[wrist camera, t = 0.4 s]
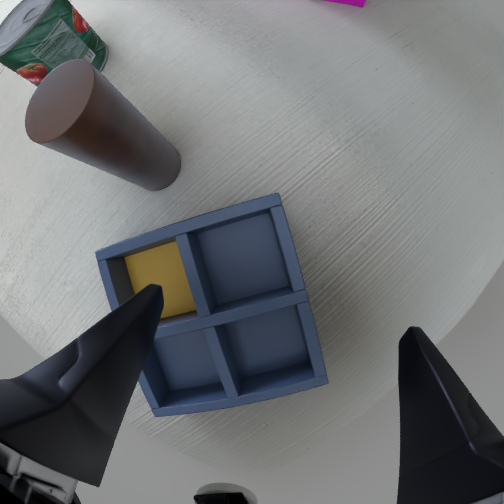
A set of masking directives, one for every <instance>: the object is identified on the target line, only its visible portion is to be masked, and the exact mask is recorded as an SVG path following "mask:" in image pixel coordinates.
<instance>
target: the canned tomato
mask: <svg viewBox="0 0 504 504" xmlns="http://www.w3.org/2000/svg"><path fill="white" fill-rule="evenodd" d="M107 56H108V48H107V46H106V44H105V43H104V42H103V41H102V40H101V39H100V37H99V36H98V35H97V34H96V33H95V31H94V30H93V29H92V28H91V27H90V26H89V24H88V23H87V22H86V21H85V19H84V18H83V17H82V16H81V15H80V14H79V13H78V11H77V10H76V9H75V8H74V6H73V5H71V3H70V2H69V1H68V0H22V1H21V2H20V3H19V4H18V5H17V6H16V7H15V8H14V9H13V10H12V11H11V12H10V13H9V14H8V16H7V17H6V18H5V19H4V21H3V22H2V23H1V25H0V63H1V64H3V65H5V66H6V67H8V68H10V69H11V70H12V71H14V72H16V73H17V74H19V75H21V76H22V77H23V78H25V79H27V80H28V81H30V82H31V83H32V84H35V85H36V86H37V87H38V85H39V84H40V83H41V82H42V80H43V79H44V78H45V77H46V76H47V75H48V74H49V73H50V72H51V71H52V70H54V69H55V68H56V67H58V66H59V65H61V64H63V63H65V62H67V61H70V60H74V59H83V60H86V61H88V62H90V63H91V64H92V65H93V66H94V67H95V68H96V69H97V70H98V71H99V72H101V71H102V69H103V67H104V65H105V63H106V60H107Z"/></svg>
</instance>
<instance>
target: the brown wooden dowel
mask: <svg viewBox="0 0 504 504" xmlns="http://www.w3.org/2000/svg"><path fill="white" fill-rule="evenodd" d="M25 127H26V132H27V134H28V136H29V138H30V139H31V140H32V141H34V142H36V143H38V144H41V145H43V146H45V147H48V148H50V149H53V150H55V151H58V152H60V153H62V154H65V155H67V156H70V157H72V158H75V159H77V160H79V161H82V162H84V163H86V164H89V165H91V166H94V167H96V168H98V169H101V170H103V171H106V172H108V173H110V174H113V175H115V176H117V177H120V178H122V179H124V180H127V181H129V182H131V183H134V184H136V185H138V186H141V187H143V188H145V189H148V190H161V189H163V188H166V187H167V186H169V185H170V184H171V183H172V182H173V181H174V180H175V179H176V177H177V175H178V173H179V170H180V165H181V160H180V156H179V153H178V151H177V150H176V149H175V148H174V147H173V146H172V145H171V144H170V143H169V142H168V141H167V139H166V138H165V137H164V136H163V135H162V134H161V133H160V132H159V131H158V130H157V129H156V128H155V127H154V126H153V125H152V124H151V123H150V122H149V121H148V120H147V119H146V118H145V117H144V116H143V115H142V114H141V113H140V112H139V111H138V110H137V109H136V108H135V107H134V106H133V105H132V104H131V103H130V102H129V101H128V100H127V99H126V98H125V97H124V96H123V95H122V94H121V93H120V92H119V91H118V90H117V89H116V88H115V87H114V86H113V85H112V84H111V83H110V82H109V81H108V80H107V79H106V78H105V77H104V76H103V75H102V74H101V73H100V72H99V71H98V70H97V69H96V68H95V67H94V66H93V65H92V64H91V63H90V62H88V61H86V60H83V59H74V60H70V61H67V62H65V63H63V64H61V65H59V66H58V67H56V68H55V69H54V70H52V71H51V72H50V73H49V74H48V75H47V76H46V77H45V78H44V79H43V80H42V82H41V83H40V84H39V85H38V87H37V88H36V90H35V92H34V93H33V95H32V97H31V100H30V102H29V105H28V108H27V111H26V117H25Z"/></svg>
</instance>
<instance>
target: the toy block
mask: <svg viewBox="0 0 504 504" xmlns="http://www.w3.org/2000/svg"><path fill="white" fill-rule="evenodd" d="M326 1H333V2H339V3H344V4H349V5H354V6H359V7H363V5H364V3H365V0H326Z"/></svg>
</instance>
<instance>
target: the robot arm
mask: <svg viewBox="0 0 504 504" xmlns="http://www.w3.org/2000/svg"><path fill="white" fill-rule="evenodd" d="M163 308H164V296H163V289H162V286H160V285H157V284H152V283H151V284H149V285H147V286H146V287H145V288H143V289H142V290H140V291H139V292H138V293H136V294H135V295H134V296H132V297H131V298H129V299H128V300H127V301H125V302H124V303H123V304H121V305H120V306H119V307H117V308H116V309H115V310H113V311H112V312H111V313H109V314H108V315H106V316H105V317H104V318H102V319H101V320H100V321H99V322H97V323H96V324H95V325H93V326H92V327H91V328H89V329H88V330H87V331H85V332H84V333H83V334H81V335H80V336H79V337H78V338H76V339H75V340H73V341H72V342H71V343H70V344H68V345H67V346H66V347H64V348H63V349H61V350H60V351H59V352H57V353H56V354H54V355H53V356H51V357H50V358H48V359H47V360H45V361H43V362H42V363H40V364H39V365H37V366H35V367H34V368H32V369H31V370H29V371H27V372H26V373H24V374H22V375H20V376H18V377H15V378H12V379H2V380H0V504H81V502H80V500H79V498H78V496H77V494H76V492H75V489H76V486H77V483H78V480H79V481H82V482H85V483H88V484H90V485H94V486H96V487H99V486H100V483H101V480H102V478H103V474H104V471H105V468H106V465H107V462H108V459H109V456H110V454H111V451H112V448H113V445H114V441H115V439H116V436H117V433H118V431H119V428H120V425H121V422H122V420H123V417H124V415H125V412H126V409H127V407H128V404H129V402H130V399H131V396H132V394H133V391H134V389H135V386H136V384H137V381H138V379H139V376H140V374H141V371H142V369H143V366H144V364H145V362H146V359H147V357H148V354H149V352H150V350H151V347H152V344H153V341H154V338H155V334H156V331H157V328H158V324H159V321H160V318H161V314H162V311H163ZM398 384H399V401H400V469H399V485H398V496H397V504H504V436H503V435H502V434H501V433H500V431H499V430H498V429H497V428H496V426H495V425H494V424H493V423H492V421H491V420H490V419H489V417H488V416H487V415H486V414H485V412H484V411H483V410H482V409H481V407H480V406H479V404H478V403H477V402H476V400H475V399H474V397H473V396H472V395H471V393H469V391H468V389H467V388H466V386H465V385H464V383H463V382H462V381H461V379H460V378H459V377H458V375H457V374H456V373H455V371H454V370H453V369H452V367H451V366H450V365H449V363H448V362H447V361H446V359H445V358H444V357H443V355H442V354H441V353H440V352H439V350H438V349H437V348H436V347H435V345H434V344H433V343H432V341H431V340H430V339H429V338H428V336H427V335H426V334H425V333H424V332H423V330H422V329H421V328H420V327H414V326H411V327H409V328H408V329H407V331H406V332H405V333H404V335H403V336H402V337H401V339H400V341H399V367H398ZM193 498H194V500H195V502H196V503H197V504H249V503H248V501H247V499H246V497H245V496H244V494H243V493H242V492H234V493H222V494H203V495H194V497H193Z"/></svg>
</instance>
